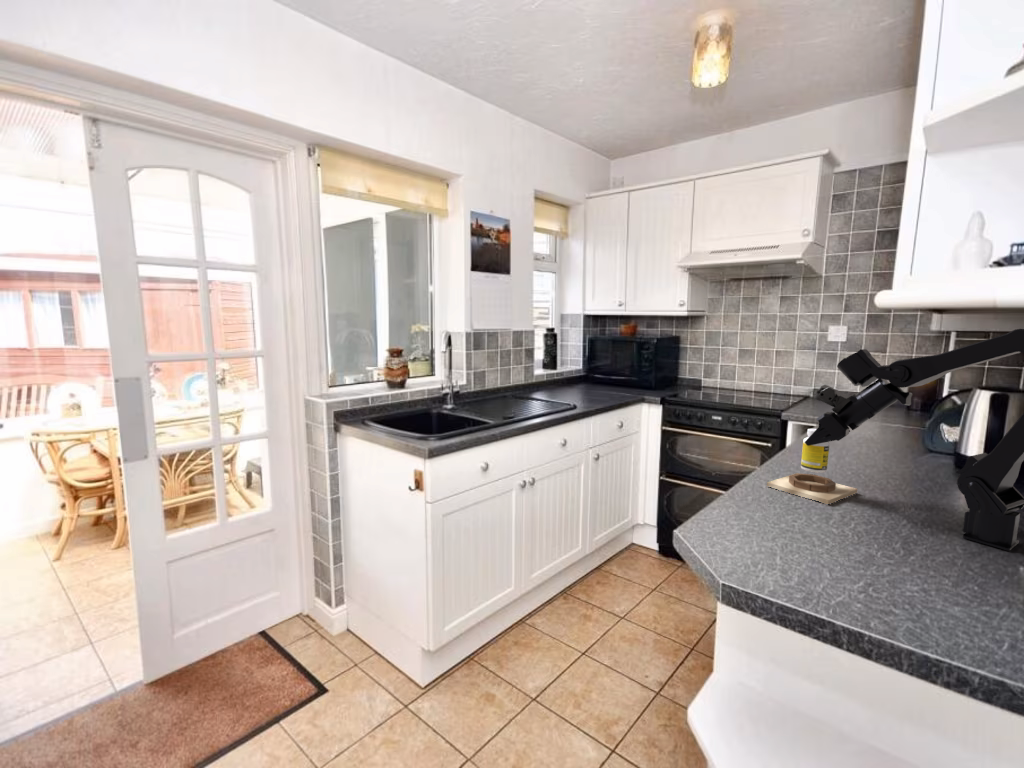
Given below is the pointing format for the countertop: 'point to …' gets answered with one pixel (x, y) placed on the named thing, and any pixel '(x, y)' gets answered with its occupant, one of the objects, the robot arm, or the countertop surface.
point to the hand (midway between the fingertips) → (809, 442)
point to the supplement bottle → (814, 455)
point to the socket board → (813, 495)
